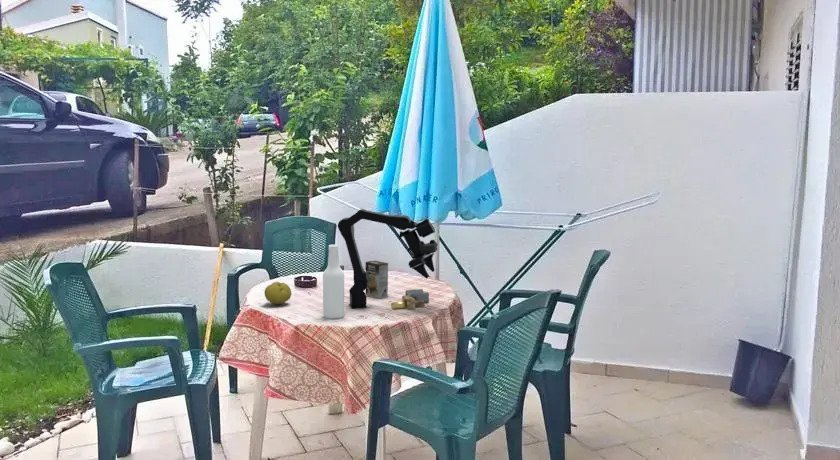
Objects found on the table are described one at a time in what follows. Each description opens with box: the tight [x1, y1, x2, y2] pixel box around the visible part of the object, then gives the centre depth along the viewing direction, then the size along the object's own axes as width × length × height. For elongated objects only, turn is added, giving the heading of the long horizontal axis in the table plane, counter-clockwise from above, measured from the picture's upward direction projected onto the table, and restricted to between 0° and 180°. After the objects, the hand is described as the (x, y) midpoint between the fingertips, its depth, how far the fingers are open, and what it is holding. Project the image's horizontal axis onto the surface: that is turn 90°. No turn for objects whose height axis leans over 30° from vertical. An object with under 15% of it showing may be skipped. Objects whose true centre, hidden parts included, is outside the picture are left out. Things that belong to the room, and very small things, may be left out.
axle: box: [390, 301, 407, 310], centre depth 319 cm, size 9×3×3 cm, turn 111°
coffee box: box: [365, 260, 389, 300], centre depth 340 cm, size 9×6×16 cm
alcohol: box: [322, 243, 346, 320], centre depth 302 cm, size 9×9×30 cm
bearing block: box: [401, 294, 416, 311], centre depth 320 cm, size 3×8×4 cm, turn 21°
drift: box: [415, 300, 426, 309], centre depth 322 cm, size 5×3×3 cm, turn 111°
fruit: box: [264, 281, 292, 306], centre depth 323 cm, size 11×12×10 cm
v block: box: [405, 288, 430, 304], centre depth 331 cm, size 8×9×5 cm
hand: (430, 274), depth 316 cm, fingers open, 9 cm apart
